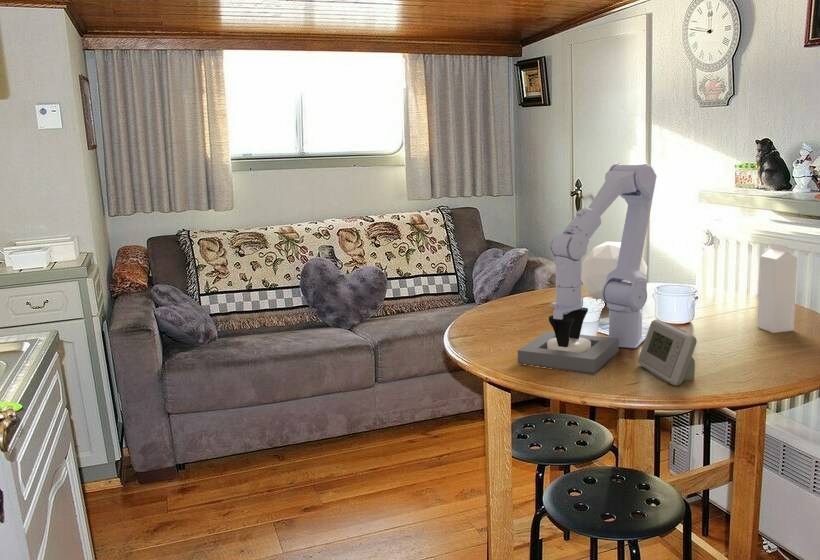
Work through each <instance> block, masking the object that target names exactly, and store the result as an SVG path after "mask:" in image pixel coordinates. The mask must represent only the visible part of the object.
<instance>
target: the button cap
mask: <svg viewBox="0 0 820 560" xmlns="http://www.w3.org/2000/svg"><path fill="white" fill-rule="evenodd" d="M590 348H591V341H590V340H588V339H585V338H581V337H579V339H575V338H569V344H568V347H559V346H558V343H557V339H556V338H552V339H550V340H548V341H547V349H551V350H560V351H568V352H577V353H585V352H586V351H588V350H589V349H590Z"/></svg>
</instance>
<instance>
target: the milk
mask: <svg viewBox="0 0 820 560" xmlns="http://www.w3.org/2000/svg"><path fill="white" fill-rule="evenodd" d="M797 271H798V257H797V256H795V255H794V254H792V253H791V252H788V245H785V244H782V243H781V244H780V243H775V242H771V244H770V248H769V249H767V251H766V252H764V253H762V254H761V255H760V261H759V282H758V305H757V307H758V308H757V329H761V330H764V331H766V332H769V333H772V334H777V333H785V332H786V333H787V332H793V331H794V328H795V327H794V325H795V308H796V307H795V306H796V287H797Z"/></svg>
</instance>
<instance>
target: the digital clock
mask: <svg viewBox="0 0 820 560" xmlns="http://www.w3.org/2000/svg"><path fill="white" fill-rule="evenodd" d="M697 341H698V340H697V337H695V336H694V335H693V334H690V333H689V332H687V331H686V330H683V329H681V328H680V327H677V326H675V325H672V324H670V323H669V322H667V321H666V322H665V321H663V320H660V319H654V320H652V321H651V322H650V324H649V328H648V330H647V332H646V335H645V340H644V341H643V343H642V346H641V349H640V353H639V355H638V359H637V362H638V364H639V366H640V367H642V368H643V369H645V370H646V371H648V372H649V373H650V374H652V375H654V376H655V377H657V378H658V379H660V380H662V381H663V382H665V383H668V384H671V385H673V386H676V387H678V386H680V385H682V383H683V382H684V381H693V380H695V371H696V369H695V368H696V367H695V366H696V364H695V358H694V357H693V355H694V354H693V353H694V350H695V348H696V345H697V343H698V342H697Z"/></svg>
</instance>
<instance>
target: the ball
mask: <svg viewBox="0 0 820 560" xmlns="http://www.w3.org/2000/svg"><path fill="white" fill-rule="evenodd" d="M620 246H621V241H605V242H602V243H601V244H599V245H597V246H594V247H593V248H592V249H591V251H590V252H589V253H588V255H587V256H586V257H585V258H584V260H583V261H581V284H583V286H584V288H585V289H586V291H587V293H588V295H590V296H591V297H592V298H594V299H596V300H597V299H602V300H603V298H602V289H603V286H604V284H605V282H606V280H607V275H608V274H609V273H610V272H611V271H613V270H614V269H615V268H617V263H618V257H619V252H620ZM639 271H640V273H641V274H642V275H643V276H644V277H645V278H646V279H647V274H648V265H647V263H646V261H645V259H644V257H643V256H642V259H641V265H640V270H639ZM622 282H630V281H628V280H623V281H622ZM630 283H631V282H630ZM606 305H607V303H606Z"/></svg>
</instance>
